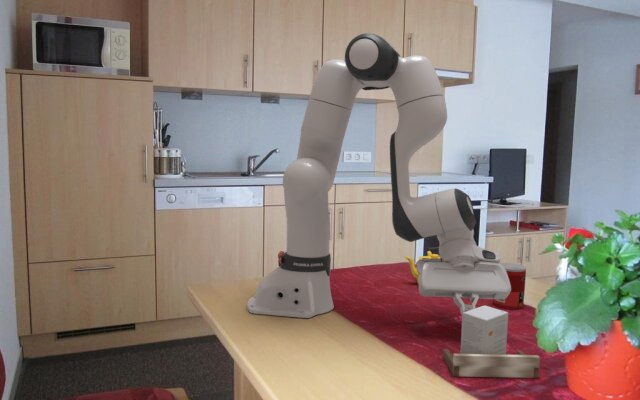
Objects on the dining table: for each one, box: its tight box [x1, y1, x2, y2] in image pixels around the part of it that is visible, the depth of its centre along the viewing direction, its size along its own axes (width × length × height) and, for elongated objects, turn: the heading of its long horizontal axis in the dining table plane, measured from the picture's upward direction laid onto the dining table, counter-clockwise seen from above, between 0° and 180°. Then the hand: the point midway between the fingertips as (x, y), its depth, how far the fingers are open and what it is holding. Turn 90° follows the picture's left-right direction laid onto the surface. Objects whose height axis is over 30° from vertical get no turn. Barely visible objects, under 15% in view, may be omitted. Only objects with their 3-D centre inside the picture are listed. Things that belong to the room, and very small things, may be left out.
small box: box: [459, 305, 509, 355], centre depth 103 cm, size 8×6×10 cm
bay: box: [442, 348, 541, 379], centre depth 101 cm, size 16×8×4 cm, turn 91°
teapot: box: [403, 250, 440, 286], centre depth 160 cm, size 15×14×10 cm
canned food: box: [492, 262, 527, 310], centre depth 141 cm, size 8×8×11 cm
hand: (468, 313), depth 113 cm, fingers closed
